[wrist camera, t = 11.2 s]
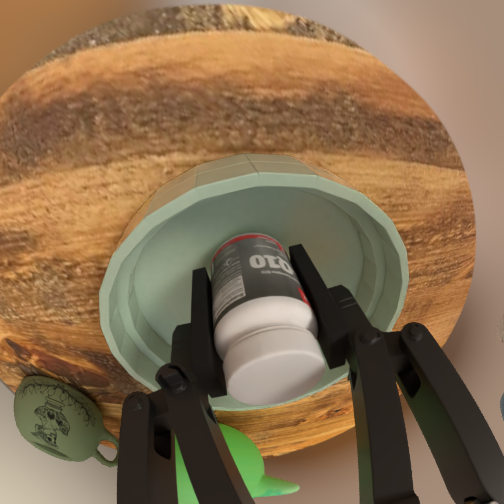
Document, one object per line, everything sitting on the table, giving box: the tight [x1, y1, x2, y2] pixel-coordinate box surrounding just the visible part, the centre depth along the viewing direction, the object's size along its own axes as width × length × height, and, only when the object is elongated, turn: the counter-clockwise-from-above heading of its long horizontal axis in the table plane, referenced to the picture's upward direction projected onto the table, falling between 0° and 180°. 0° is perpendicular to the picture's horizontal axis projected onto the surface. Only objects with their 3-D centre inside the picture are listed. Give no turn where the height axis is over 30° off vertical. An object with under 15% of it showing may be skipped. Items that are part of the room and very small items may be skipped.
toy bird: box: [175, 423, 299, 504], centre depth 26 cm, size 18×17×15 cm
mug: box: [14, 375, 119, 467], centre depth 22 cm, size 16×13×9 cm
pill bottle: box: [210, 233, 326, 405], centre depth 13 cm, size 5×5×8 cm
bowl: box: [99, 153, 409, 411], centre depth 18 cm, size 19×19×5 cm
